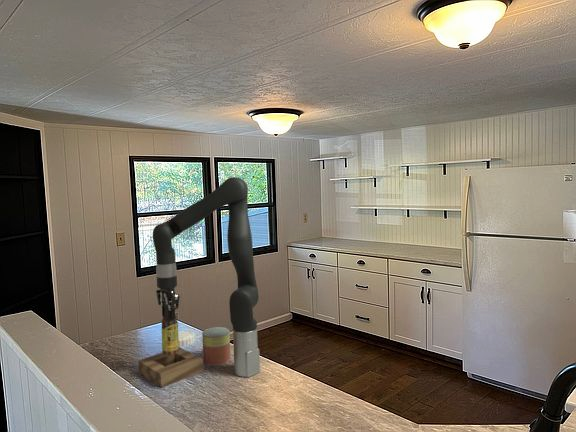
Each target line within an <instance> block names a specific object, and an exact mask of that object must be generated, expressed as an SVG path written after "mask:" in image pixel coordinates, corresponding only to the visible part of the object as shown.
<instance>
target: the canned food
mask: <svg viewBox="0 0 576 432" xmlns="http://www.w3.org/2000/svg"><path fill="white" fill-rule="evenodd" d="M230 333H231V331H230V329H229V328H228V327H223V326H216V327H215V326H213V327H210V328H206V329H204V330H203V331H202V332H201V335H202V353H203V354H202V356H203V357H202V359H203V364H205V365H207V366H213V367H215V366H222V365H225V364H228V363H229V362H230V361H231V339H230V336H231V335H230Z"/></svg>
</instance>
